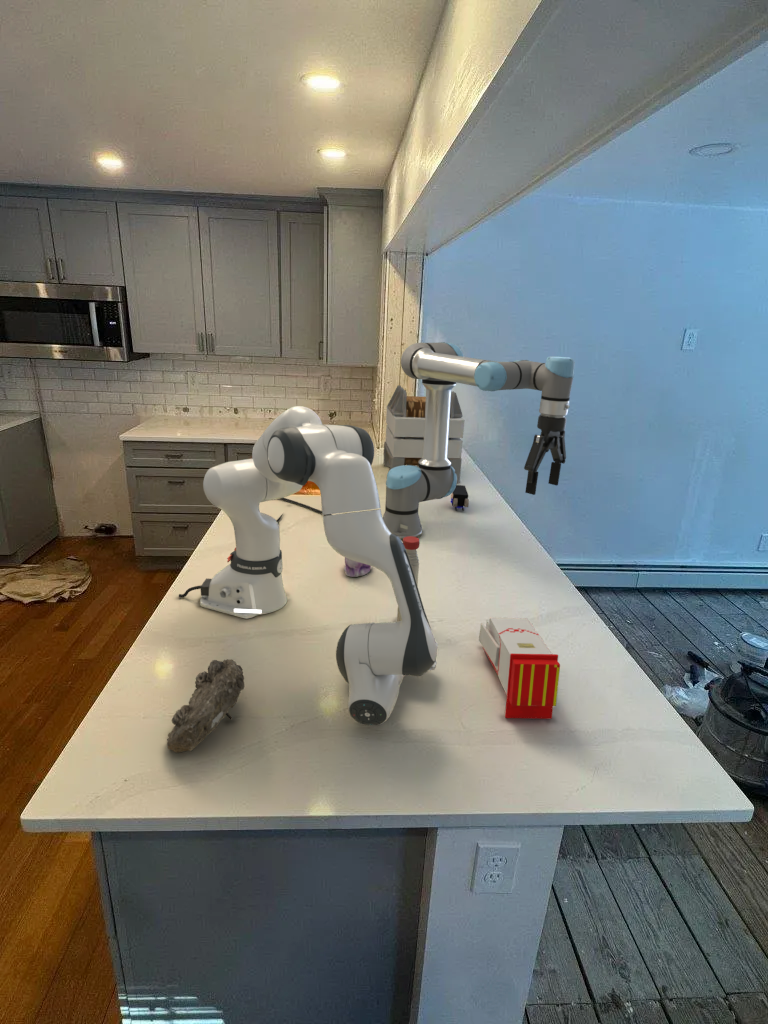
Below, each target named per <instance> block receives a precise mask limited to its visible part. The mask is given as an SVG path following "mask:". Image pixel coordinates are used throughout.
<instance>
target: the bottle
mask: <svg viewBox="0 0 768 1024" xmlns="http://www.w3.org/2000/svg"><path fill="white" fill-rule="evenodd" d="M406 552H407V555H408V558H409V561H410V564H411V567H412V570H413V573H414V577H415V580H416V584H417V587H418V586H419V585H418V584H419V570H420V560H419V556H418V551H417V549H415V550H408V549H406ZM401 620H402V618H401V614H400V611H399V607H398V606H397V615H396V622H399V621H401Z"/></svg>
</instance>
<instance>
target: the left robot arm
mask: <svg viewBox="0 0 768 1024" xmlns="http://www.w3.org/2000/svg"><path fill="white" fill-rule="evenodd" d="M251 451H252V452H251V453H252V454H251V457H252V458H246V459H238V460H231V461H225V462H223V463H220V464H218V465H215V466H212V467H210V468H208V469H207V471H206V473H205V475H204V477H203V482H202V488H203V492H204V495H205V498H206V499H207V501H209V502H210V503H211V505H213V506H214V507H216V508H218V509H220V510H221V511H222V512H223V513H224V514H226V515H227V517H228V518H229V520H230V522H231V524H232V526H233V531H234V540H235V548H234V549H233V551H232V552H231V553H230V554H229V556H228V557H227V558H226V559H227V561H226V562H227V563H229V562H230V563H229V564H228V565H226V566H225V567H223V568H222V569H220V570H219V571H218V572H217V573H215V574H214V575H213V577H212V578H205V580H204V581H203V582H202V584H200V585H195V586H192V587H190V588H187V589H186V590H185V591H184V593H179V594H178V598H180V599H181V598H182V599H183V598H185V597H187V595H188V594H189V593H191V592H192V591H196V590H200V600H199V606H200V607H201V608H205V609H208V610H212V611H216V612H220V613H223V614H227V615H230V616H235V617H238V618H242V619H251V618H254V617H257V616H259V615H265V614H270V613H274V612H276V611H279V610H281V609H282V608H284V607H285V605H286V604H288V603H287V602H288V596H287V594H286V590H285V587H284V586H285V585H284V581H283V574H282V573H283V551H282V550H281V529H280V528H281V527H280V525H279V522H277V519H276V518H275V517H273V516H272V515H269V514H267V513H264V512H261V510H260V504H261V503H266V502H271V501H276V500H280V499H281V498H288V497H289V496H292V495H294V494H296V493H298V492H300V491H301V490H302V488H303V487H304V486H306V484H307V483H308V482H312V483H314V484H315V485H316V486H317V487H318V489H319V493H320V500H321V501H320V503H321V504H320V505H321V511H322V514H321V515H322V522H323V529H324V535H325V538H326V541H327V543H328V545H329V546H330V547H331V548H332V550H334V551H335V552H336V553H337V554H339V555H340V556H342V557H344V558H345V557H346V558H348V559H350V560H353V561H357V562H360V563H363V564H367V565H370V566H371V567H373V568H374V569H378V570H379V571H380V572H382V573H384V574H385V576H386V577H387V578H388V579H389V581H390V584H391V587H392V590H393V593H394V597H395V600H396V604H397V608H398V607H399V611H400V614H401V618H402V620H401V621H399V622H397V621H387V622H386V621H385V622H364V623H363V622H362V623H354V624H352V623H351V624H349V625H348V626H347V627H346V628H344V630H343V632H342V633H341V635H340V636H339V639H338V641H337V645H336V650H335V659H336V665H337V668H338V671H339V674H340V675H341V676H342V678H343V680H344V681H345V682H346V683H347V684H348V691H349V692H348V695H349V696H348V701H347V709H348V714H349V716H350V717H351V718H352V719H353V720H354V721H355V722H357V723H358V724H361V725H363V726H364V725H365V726H379V725H382V724H384V723H385V722H386V721H387V720H389V718H390V716H391V715H392V713H393V711H394V708H395V706H396V704H397V701H398V697H399V694H400V690H401V689H400V686H401V684H402V683H403V680H404V676H406V677H407V676H409V677H422V676H424V675H425V674H426V673H428V672H429V671H435V669H436V668H437V663H438V662H437V658H438V652H439V651H438V650H439V643H438V642H437V641H436V637H435V635H434V633H433V629H432V628H431V625H430V622H429V619H428V617H427V614H426V610H425V608H424V604H423V601H422V598H421V594H420V591H419V588H418V586H417V584H416V580H415V577H414V573H413V570H412V567H411V564H410V561H409V558H408V555H407V552H406V549H405V547H404V545H403V540H401V539H400V538H399V537H398V536H396V535H393V534H392V533H391V532H390V531H389V530H388V528H387V527H386V525H385V523H384V520H383V515H382V509H381V508H382V507H381V501H380V494H379V490H378V486H377V482H376V477H375V475H374V471H373V468H372V465H373V462H374V458H375V446H374V442H373V439H372V437H371V435H370V434H369V432H368V431H367V430H365V429H364V428H362V427H359V426H355V425H350V424H323V422H322V420H321V418H320V416H319V415H318V413H316V412H315V410H313V409H311V408H309V407H307V406H302V405H294V406H291V407H289V408H287V409H286V410H284V411H282V413H280V414H279V415H278V416H277V417H276V418H275V419H273V421H272V422H271V423H270V424H269V425H268V426H267V428H265V430H264V431H263V432H262V434H261V435H260V437H259V438H258V439H257V441H256V442H255V443H254V445H253V448H252V450H251ZM327 514H332V515H327Z"/></svg>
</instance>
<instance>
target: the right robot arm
mask: <svg viewBox="0 0 768 1024" xmlns="http://www.w3.org/2000/svg"><path fill="white" fill-rule="evenodd" d="M400 366H401V369H402V371H403V372H404V374H405V375H406V376H407V377H409V378H412V379H413V380H421V385H423V387H424V388H425V397H426V403H425V424H424V445H423V457H422V458H421V459H420V460H419V462H418V466H413V465H402V466H397V467H394V468H392V469H391V470H390V469H389V470H388V472H387V475H386V479H385V504H384V505H385V507H384V508H385V509H384V513H383V515H382V518H383V520H384V523H385V525H386V527H387V528H388V530H389V531H390V532H391V533H392V534H393V535H396V536H398V537H399V538H400V539H401V541H403V538H404V537H408V536H413V537H417V538H420V537H421V536H422V535H423V525H422V524H421V518H420V515H419V507H420V506H419V505H420V503H422V502H428V501H433V500H440V499H443V498H446V497H449V496H451V494H452V492H453V491H454V489H455V487H456V485H458V483H457V475H456V474H455V470H454V468H453V467H451V462H450V461H449V460H448V459H447V452H448V436H449V419H450V403H451V391H453V388H455V386H457V384H461V385H468V386H473V387H478V388H479V390H480V391H484V392H497V391H506V390H507V391H510V390H535V391H538V392H539V391H540V392H541V396H540V404H539V408H538V413H539V414H538V416H537V417H538V418H537V425H536V427H537V429H539V430H540V431H541V432H540V434H534V435H533V439H532V440H533V441H532V444H531V447H530V450H529V453H528V456H527V458H526V461H525V463H524V467H523V469H524V471H527V477H526V485H525V494H529V495H532V496H535V495H536V492H537V486H538V478H539V471H538V469H539V467H540V465H541V463H542V462H543V460H544V457H545V456H546V454H547V453H549V451H550V454H551V458H552V460H553V461H552V462H551V465H550V470H549V476H548V484H549V485H553V486H556V487H557V486H559V480H560V476H561V475H560V474H561V469H562V464H565V463H566V459H567V451H566V440H565V438H566V427H567V420H568V419H567V417H566V416H567V415H568V412H569V409H570V398H571V391H572V385H573V381H574V377H575V360H574V359H573V358H572V357H567V356H548V357H547V358H546V360H545V362H539V361H533V360H528V359H516V360H513V361H497V360H489V359H481V358H475V357H468V356H465V355H464V353H463V351H462V350H461V348H460V347H459V345H457V344H455V343H452V342H445V341H444V342H415V343H412V344H410V345H408V347H405V350H404V351H403V352H402V354H401V358H400ZM279 500H281V501H284V502H288V503H291V504H295V505H297V506H300V507H303V508H306V509H308V510H311V511H313V512H316V513H318V514H321V515H322V510H321V509H319V508H315V507H312V506H310V505H308V504H304V503H301V502H299V501H296V500H292V499H290V498H287V497H284V498H281V499H279ZM327 515H333V514H327ZM327 515H326V516H327Z"/></svg>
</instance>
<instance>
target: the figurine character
mask: <svg viewBox="0 0 768 1024" xmlns="http://www.w3.org/2000/svg"><path fill="white" fill-rule="evenodd" d="M449 502H450V504H451V506H452V507H453V508H454V511H456V512H457V511H458V509H461V511H462V512H464V511H465V508H469V505H470V500H469V492H468V490H467V488H466V485H464V484H463V485H461V484H456V487H455V489H454V491H453V492H452V493H451V494H450V501H449Z"/></svg>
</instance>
